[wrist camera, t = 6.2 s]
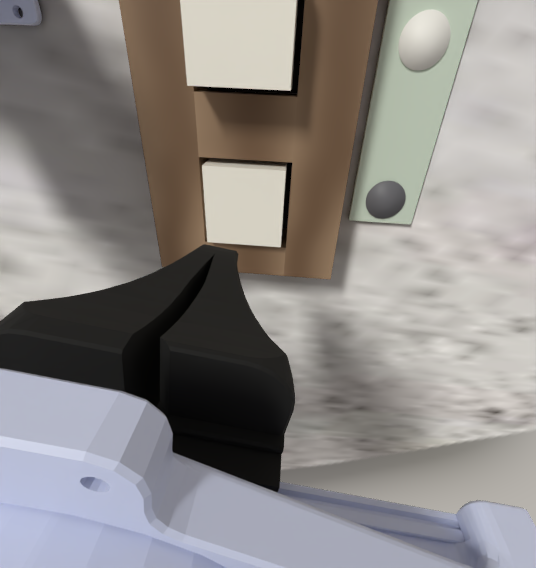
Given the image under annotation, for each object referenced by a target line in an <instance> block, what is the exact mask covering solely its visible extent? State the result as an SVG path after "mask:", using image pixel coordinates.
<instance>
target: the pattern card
mask: <svg viewBox="0 0 536 568" xmlns="http://www.w3.org/2000/svg"><path fill="white" fill-rule="evenodd" d="M477 2H478V0H389V2H388V7H387V13H386V18H385V23H384V29H383V34H382V40H381V45H380V50H379V56H378V61H377V67H376V72H375V78H374V83H373V88H372V94H371V99H370V105H369V110H368V115H367V121H366V126H365V132H364V137H363V143H362V148H361V153H360V159H359V164H358V170H357V175H356V180H355V186H354V191H353V197H352V202H351V208H350V213H349V218H348V219H349V220H352V221H366V222H381V223H396V224H411V222H412V219H413V216H414V212H415V209H416V206H417V202H418V199H419V196H420V192H421V189H422V186H423V182H424V179H425V176H426V172H427V169H428V166H429V162H430V159H431V156H432V152H433V149H434V146H435V142H436V139H437V135H438V132H439V129H440V125H441V122H442V119H443V115H444V112H445V109H446V105H447V102H448V99H449V95H450V92H451V89H452V85H453V82H454V79H455V75H456V72H457V69H458V65H459V62H460V59H461V55H462V52H463V49H464V45H465V42H466V39H467V35H468V32H469V29H470V25H471V22H472V19H473V15H474V12H475V8H476V5H477Z"/></svg>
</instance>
